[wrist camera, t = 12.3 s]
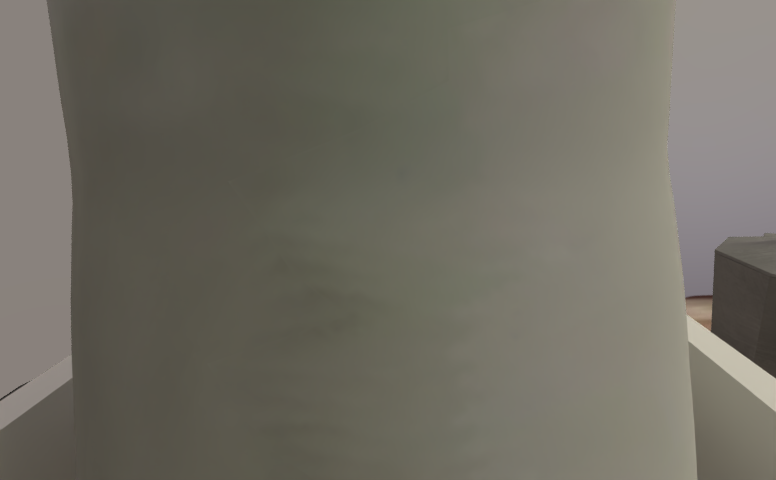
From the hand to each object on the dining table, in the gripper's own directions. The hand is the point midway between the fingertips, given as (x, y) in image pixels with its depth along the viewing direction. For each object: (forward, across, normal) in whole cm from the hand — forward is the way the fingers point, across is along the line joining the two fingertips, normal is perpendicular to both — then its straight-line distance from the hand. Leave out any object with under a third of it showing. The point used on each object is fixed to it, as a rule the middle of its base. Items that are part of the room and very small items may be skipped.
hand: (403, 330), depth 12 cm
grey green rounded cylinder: (-3, 0, -16) cm, 16 cm away
